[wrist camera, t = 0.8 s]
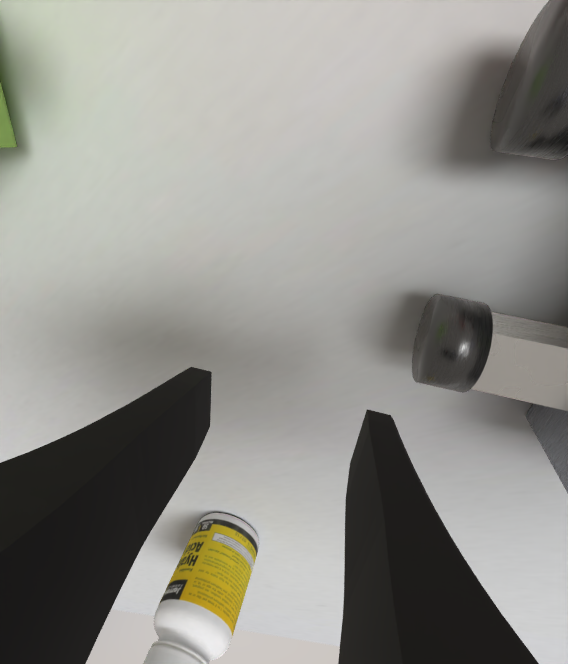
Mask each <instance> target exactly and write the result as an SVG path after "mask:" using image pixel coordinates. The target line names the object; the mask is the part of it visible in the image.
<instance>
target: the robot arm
mask: <svg viewBox="0 0 568 664" xmlns="http://www.w3.org/2000/svg"><path fill="white" fill-rule="evenodd" d="M210 409H211V372H210V371H206V370H202V369H198V368H194V367H190V368H188V369H187V370H185V371H183V372H182V373H180V374H178V375H177V376H175V377H173V378H172V379H170V380H168V381H167V382H165V383H163V384H162V385H160V386H158V387H157V388H155V389H153V390H152V391H150V392H148V393H147V394H145V395H143V396H141V397H140V398H138V399H136V400H135V401H133V402H131V403H129V404H128V405H126V406H124V407H122V408H120V409H118V410H116V411H115V412H113V413H111V414H109V415H107V416H105V417H103V418H101V419H99V420H97V421H96V422H94V423H92V424H90V425H88V426H86V427H84V428H82V429H80V430H78V431H76V432H74V433H71V434H69V435H67V436H65V437H63V438H61V439H58V440H56V441H54V442H51V443H49V444H47V445H44V446H42V447H40V448H38V449H35V450H33V451H30V452H28V453H25V454H23V455H20V456H17V457H15V458H12V459H9V460H7V461H4V462H1V463H0V664H85V663H86V661H87V659H88V657H89V655H90V652H91V650H92V648H93V646H94V644H95V642H96V639H97V637H98V635H99V633H100V631H101V629H102V626H103V625H104V622H105V620H106V618H107V616H108V614H109V612H110V610H111V608H112V606H113V604H114V602H115V599H116V597H117V595H118V593H119V591H120V589H121V587H122V585H123V583H124V581H125V579H126V577H127V575H128V573H129V571H130V569H131V567H132V565H133V563H134V561H135V559H136V557H137V555H138V553H139V551H140V549H141V547H142V546H143V544H144V542H145V540H146V539H147V537H148V535H149V533H150V531H151V530H152V528H153V527H154V525H155V523H156V522H157V520H158V518H159V517H160V515H161V514H162V512H163V510H164V509H165V507H166V505H167V504H168V502H169V501H170V499H171V497H172V496H173V494H174V493H175V491H176V489H177V488H178V486H179V484H180V483H181V481H182V479H183V478H184V476H185V475H186V473H187V471H188V470H189V468H190V466H191V465H192V463H193V461H194V460H195V458H196V456H197V454H198V452H199V449H200V447H201V445H202V443H203V441H204V439H205V436H206V434H207V432H208V430H209V427H210ZM339 664H539V663H538V662H537V661H536V659H535V658H534V657H533V655H532V654H531V653H530V651H529V650H528V649H527V647H526V646H525V645H524V643H523V642H522V641H521V639H520V638H519V637H518V635H517V634H516V633H515V631H514V630H513V629H512V627H511V626H510V625H509V623H508V622H507V621H506V619H505V618H504V617H503V615H502V614H501V613H500V611H499V610H498V608H497V607H496V605H495V604H494V602H493V601H492V599H491V598H490V597H489V595H488V594H487V592H486V591H485V589H484V588H483V586H482V585H481V583H480V582H479V581H478V579H477V577H476V576H475V574H474V573H473V571H472V570H471V568H470V567H469V565H468V564H467V562H466V560H465V559H464V557H463V556H462V554H461V553H460V551H459V549H458V548H457V546H456V544H455V543H454V541H453V539H452V538H451V536H450V534H449V533H448V531H447V529H446V527H445V526H444V524H443V522H442V520H441V519H440V517H439V515H438V513H437V512H436V510H435V508H434V506H433V504H432V502H431V500H430V499H429V497H428V495H427V493H426V491H425V489H424V487H423V485H422V483H421V481H420V479H419V477H418V475H417V473H416V471H415V469H414V467H413V464H412V462H411V460H410V458H409V456H408V454H407V451H406V449H405V447H404V444H403V442H402V440H401V437H400V435H399V433H398V430H397V428H396V425H395V422H394V420H393V418H392V417H391V415H387V414H383V413H379V412H375V411H371V410H367V411H366V415H365V418H364V421H363V424H362V427H361V431H360V434H359V437H358V440H357V443H356V447H355V450H354V453H353V456H352V459H351V463H350V469H349V477H348V485H347V494H346V512H345V579H344V608H343V622H342V632H341V642H340V654H339Z"/></svg>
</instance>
